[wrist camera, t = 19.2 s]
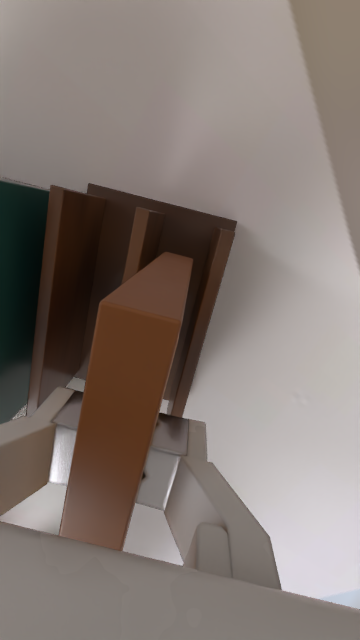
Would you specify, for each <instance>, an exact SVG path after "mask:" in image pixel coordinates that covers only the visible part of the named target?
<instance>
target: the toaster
mask: <svg viewBox="0 0 360 640" xmlns="http://www.w3.org/2000/svg"><path fill="white" fill-rule="evenodd" d="M49 193H50V189H46V188H42V187H38V186H34V185H30V184H26V183H23V182H19V181H15V180H11V179H7V178H3V177H0V424H3V423H5V422H8V421H10V420H11V419H12V418H13V417H14V416H15V415H16V414H17V413H18V412H19V411H20V410H21V409H22V408H23V407H24V406H25V404H26V403H27V401H28V392H29V382H30V373H31V363H32V354H33V344H34V335H35V325H36V316H37V306H38V297H39V287H40V278H41V268H42V259H43V249H44V240H45V230H46V221H47V212H48V202H49Z"/></svg>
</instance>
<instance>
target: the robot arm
mask: <svg viewBox="0 0 360 640" xmlns="http://www.w3.org/2000/svg"><path fill="white" fill-rule="evenodd" d="M83 394H84V392H80V391H75V390H73V389H69V388H65V387H61V386H60V387H57V388H56V389H55V390H54V391H53V392H52V393H51V394H50V395H49V396H48V398H47V399H46V400H45V401H44V402H43V403H42V404H41V405H40V407H39V408H38V409H37V410H36V411H35V412H34V413H33V414H32V416H31V417H27V416H23V417H20V418H17V419H14V420H11V421H8V422H5V423H3V424H0V516H1V515H3V514H4V513H6V512H7V511H9V510H10V509H11V508H13V507H14V506H16V505H17V504H19V503H20V502H22V501H23V500H24V499H26V498H27V497H29V496H30V495H32V494H33V493H35V492H36V491H38V490H39V489H40V488H42V487H43V486H45V485H46V484H47V482H50V483H55V484H60V485H64V486H67V485H68V479H69V474H70V468H71V462H72V456H73V451H74V445H75V439H76V434H77V428H78V422H79V416H80V411H81V405H82V399H83ZM135 503H138V504H142V505H145V506H149V507H153V508H156V509H160V510H163V511H164V514H165V517H166V519H167V522H168V524H169V527H170V529H171V532H172V534H173V537H174V539H175V542H176V544H177V547H178V549H179V552H180V555H181V557H182V560H183V562H184V563H183V566H180V565H176V564H172V563H168V562H164V561H160V560H156V559H152V558H148V557H144V556H140V555H136V554H132V553H128V552H124V551H119V550H115V549H111V548H107V547H103V546H99V545H95V544H91V543H87V542H83V541H78V540H74V539H70V538H66V537H62V536H58V535H54V534H50V533H46V532H42V531H37V530H33V529H29V528H25V527H21V526H17V525H13V524H9V523H5V522H1V521H0V640H360V609H356V608H352V607H348V606H344V605H340V604H336V603H332V602H328V601H324V600H320V599H315V598H311V597H307V596H303V595H299V594H295V593H291V592H286V591H282V589H281V584H280V580H279V575H278V571H277V567H276V562H275V558H274V553H273V549H272V544H271V540H270V537H269V535H268V534H267V533H266V531H265V530H264V529H263V528H262V526H261V525H260V524H259V522H258V521H257V520H256V519H255V517H254V516H253V515H252V513H251V512H250V511H249V509H248V508H247V507H246V506H245V504H244V503H243V502H242V500H241V499H240V498H239V497H238V495H237V494H236V493H235V491H234V490H233V489H232V488H231V486H230V485H229V484H228V482H227V481H226V480H225V478H224V477H223V476H222V475H221V473H220V472H219V471H218V469H217V468H216V467H215V466H214V464H213V463H211V462H207V438H206V424H205V422H200V421H196V420H191V419H185V418H181V417H177V416H172V415H168V414H164V413H159V414H158V418H157V422H156V426H155V430H154V433H153V437H152V441H151V445H150V448H149V452H148V456H147V460H146V463H145V467H144V471H143V475H142V479H141V482H140V486H139V490H138V494H137V497H136V501H135Z"/></svg>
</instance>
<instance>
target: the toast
mask: <svg viewBox="0 0 360 640" xmlns="http://www.w3.org/2000/svg"><path fill="white" fill-rule="evenodd" d="M192 265H193V259H192V258H188V257H185V256H181V255H177V254H173V253H169V252H164V253H163V254H162V255H160V256H159V257H158V258H156V259H155V260H154V261H152V262H151V263H150V264H149V265H147V266H146V267H145V268H143V269H142V270H141V271H139V272H138V273H137V274H135V275H134V276H133V277H132V278H130V279H129V280H128V281H126V282H125V283H124V284H122V285H121V286H120V287H118V288H117V289H116V290H115V291H113V292H112V293H111V294H109V295H108V296H107V297H105V298H104V299H103V300H102V301H101V302H100V303H99V308H98V314H97V319H96V325H95V331H94V337H93V342H92V348H91V354H90V359H89V365H88V371H87V377H86V382H85V388H84V394H83V399H82V405H81V411H80V416H79V422H78V428H77V434H76V439H75V445H74V451H73V456H72V462H71V468H70V474H69V479H68V485H67V491H66V496H65V502H64V508H63V513H62V519H61V525H60V531H59V536H62V537H66V538H70V539H74V540H78V541H83V542H87V543H91V544H95V545H99V546H103V547H107V548H111V549H115V550H119V551H122V550H123V547H124V543H125V539H126V535H127V531H128V528H129V524H130V520H131V516H132V513H133V509H134V505H135V501H136V497H137V494H138V490H139V486H140V482H141V479H142V475H143V471H144V467H145V463H146V460H147V456H148V452H149V448H150V445H151V441H152V437H153V433H154V430H155V426H156V422H157V418H158V414H159V411H160V407H161V403H162V399H163V396H164V392H165V388H166V384H167V380H168V377H169V373H170V369H171V365H172V362H173V358H174V354H175V350H176V347H177V343H178V339H179V334H180V329H181V326H182V321H183V315H184V309H185V304H186V298H187V293H188V287H189V282H190V276H191V270H192Z"/></svg>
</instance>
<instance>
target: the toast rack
mask: <svg viewBox="0 0 360 640" xmlns="http://www.w3.org/2000/svg"><path fill="white" fill-rule="evenodd" d="M236 224H237V221H233V220H230V219H226V218H222V217H218V216H214V215H210V214H206V213H202V212H199V211H195V210H191V209H187V208H183V207H179V206H175V205H171V204H168V203H164V202H160V201H156V200H152V199H148V198H144V197H141V196H137V195H133V194H129V193H125V192H121V191H117V190H113V189H110V188H106V187H102V186H98V185H94V184H90V183H89V184H88V189H87V194H86V193H82V192H78V191H74V190H70V189H66V188H62V187H58V186H55V185H51V186H50V193H49V202H48V212H47V221H46V230H45V240H44V249H43V259H42V268H41V278H40V287H39V297H38V306H37V316H36V325H35V335H34V344H33V354H32V363H31V373H30V382H29V392H28V401H27V410H26V416H27V417H31V416H32V414H33V413H34V412H35V411H36V410H37V409H38V408H39V407H40V405H41V404H42V403H43V402H44V401H45V400H46V399H47V398H48V396H49V395H50V394H51V393H52V392H53V391H54V390H55V389H56V388H57V387H60V386H61V387H66V385H67V384H68V383H69V382H70V380H71V379H72V378H73V377H76V378H81V379H85V380H86V377H87V371H88V365H89V359H90V354H91V348H92V342H93V337H94V331H95V325H96V319H97V314H98V308H99V303H100V302H101V301H102V300H103V299H104V298H105V297H107V296H108V295H109V294H111V293H112V292H113V291H115V290H116V289H117V288H118V287H120V286H121V285H122V284H124V283H125V282H126V281H128V280H129V279H130V278H132V277H133V276H134V275H135V274H137V273H138V272H139V271H141V270H142V269H143V268H145V267H146V266H147V265H149V264H150V263H151V262H152V261H154V260H155V259H156V258H158V257H159V256H160V255H162V254H163V253H164V252H169V253H173V254H177V255H181V256H185V257H188V258H192V259H193V265H192V270H191V276H190V282H189V287H188V293H187V298H186V304H185V309H184V315H183V321H182V326H181V329H180V334H179V339H178V343H177V347H176V350H175V354H174V358H173V362H172V365H171V369H170V373H169V377H168V380H167V384H166V388H165V392H164V396H163V399H165V400H169V403H168V409H167V414H168V415H172V416H177V417H181V418H182V415H183V412H184V408H185V405H186V402H187V398H188V395H189V391H190V388H191V384H192V381H193V377H194V374H195V370H196V367H197V364H198V360H199V357H200V353H201V350H202V346H203V343H204V339H205V336H206V332H207V329H208V326H209V322H210V319H211V315H212V312H213V308H214V305H215V301H216V298H217V294H218V291H219V288H220V284H221V281H222V277H223V274H224V270H225V267H226V263H227V260H228V256H229V253H230V250H231V246H232V243H233V239H234V236H235V232H234V231H235V228H236Z"/></svg>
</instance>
